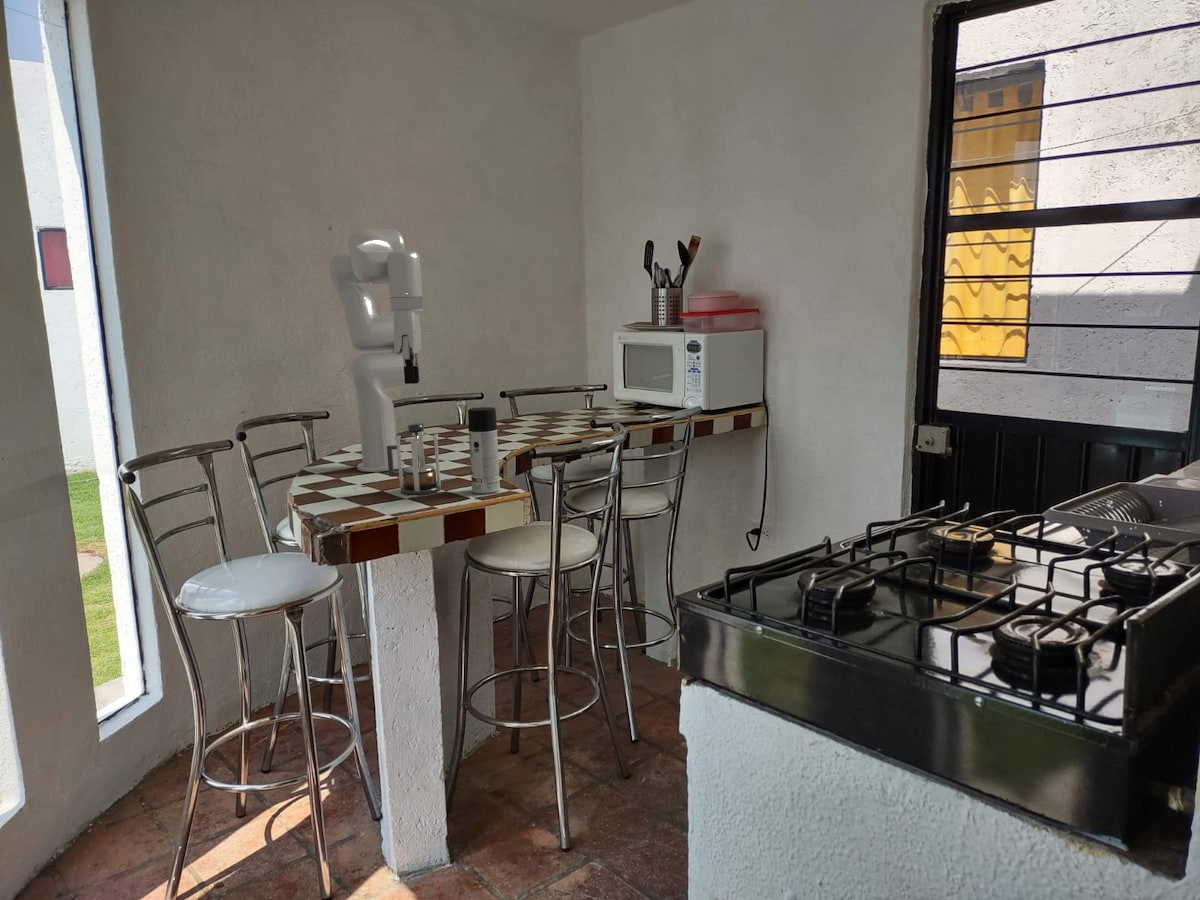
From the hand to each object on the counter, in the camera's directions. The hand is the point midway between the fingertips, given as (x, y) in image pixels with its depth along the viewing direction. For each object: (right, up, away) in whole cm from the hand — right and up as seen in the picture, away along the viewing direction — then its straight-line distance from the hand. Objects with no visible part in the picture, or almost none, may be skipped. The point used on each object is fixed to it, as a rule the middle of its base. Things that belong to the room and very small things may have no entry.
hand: (412, 383), depth 207 cm
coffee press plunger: (+1, -21, +4) cm, 21 cm away
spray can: (+17, -26, +2) cm, 31 cm away
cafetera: (0, -26, +5) cm, 26 cm away
